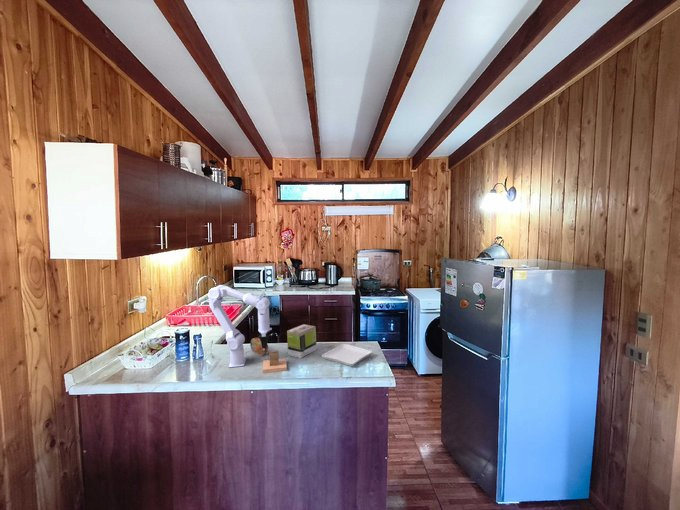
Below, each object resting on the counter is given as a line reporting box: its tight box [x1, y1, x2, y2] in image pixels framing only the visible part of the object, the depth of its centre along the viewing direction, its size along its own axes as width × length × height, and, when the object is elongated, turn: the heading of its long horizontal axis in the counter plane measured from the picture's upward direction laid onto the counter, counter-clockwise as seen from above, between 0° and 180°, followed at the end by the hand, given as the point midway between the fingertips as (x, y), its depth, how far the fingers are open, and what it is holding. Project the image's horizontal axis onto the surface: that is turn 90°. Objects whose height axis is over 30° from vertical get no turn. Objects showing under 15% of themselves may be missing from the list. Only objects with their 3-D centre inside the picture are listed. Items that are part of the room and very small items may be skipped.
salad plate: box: [321, 343, 373, 367], centre depth 182 cm, size 21×21×3 cm
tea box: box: [286, 324, 318, 359], centre depth 190 cm, size 15×10×15 cm
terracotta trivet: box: [262, 357, 288, 374], centre depth 171 cm, size 12×12×2 cm
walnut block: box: [268, 350, 280, 366], centre depth 171 cm, size 4×4×6 cm
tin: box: [249, 337, 269, 356], centre depth 191 cm, size 15×3×8 cm, turn 48°
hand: (264, 345), depth 174 cm, fingers open, 7 cm apart
